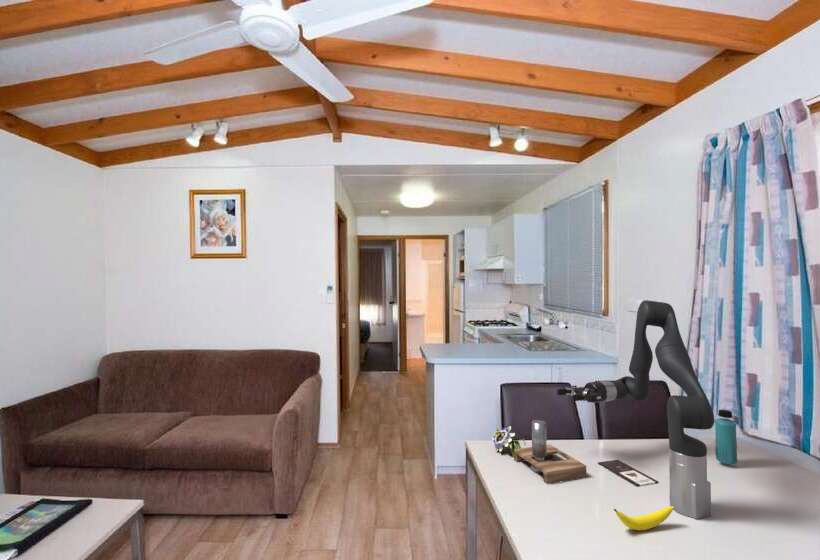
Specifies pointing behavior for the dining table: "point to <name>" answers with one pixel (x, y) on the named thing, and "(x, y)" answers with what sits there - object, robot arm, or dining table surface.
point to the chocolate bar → (628, 473)
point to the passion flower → (505, 440)
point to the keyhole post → (538, 442)
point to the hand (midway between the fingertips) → (565, 395)
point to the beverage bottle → (726, 438)
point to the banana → (645, 519)
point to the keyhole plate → (553, 465)
